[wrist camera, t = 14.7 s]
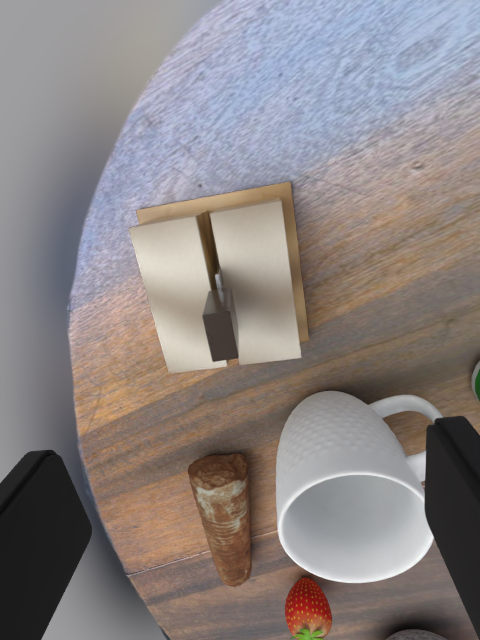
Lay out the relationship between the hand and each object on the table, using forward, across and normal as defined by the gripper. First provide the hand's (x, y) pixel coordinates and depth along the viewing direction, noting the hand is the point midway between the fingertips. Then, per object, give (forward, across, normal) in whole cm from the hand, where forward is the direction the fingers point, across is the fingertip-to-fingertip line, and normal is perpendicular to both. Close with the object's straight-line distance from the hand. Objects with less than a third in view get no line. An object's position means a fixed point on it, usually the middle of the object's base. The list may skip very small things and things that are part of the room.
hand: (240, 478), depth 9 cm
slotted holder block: (+25, +3, +1) cm, 25 cm away
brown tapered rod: (+24, +8, +29) cm, 39 cm away
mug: (+25, -5, +17) cm, 30 cm away
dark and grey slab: (+24, +3, +1) cm, 24 cm away
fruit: (+24, 0, +42) cm, 49 cm away
